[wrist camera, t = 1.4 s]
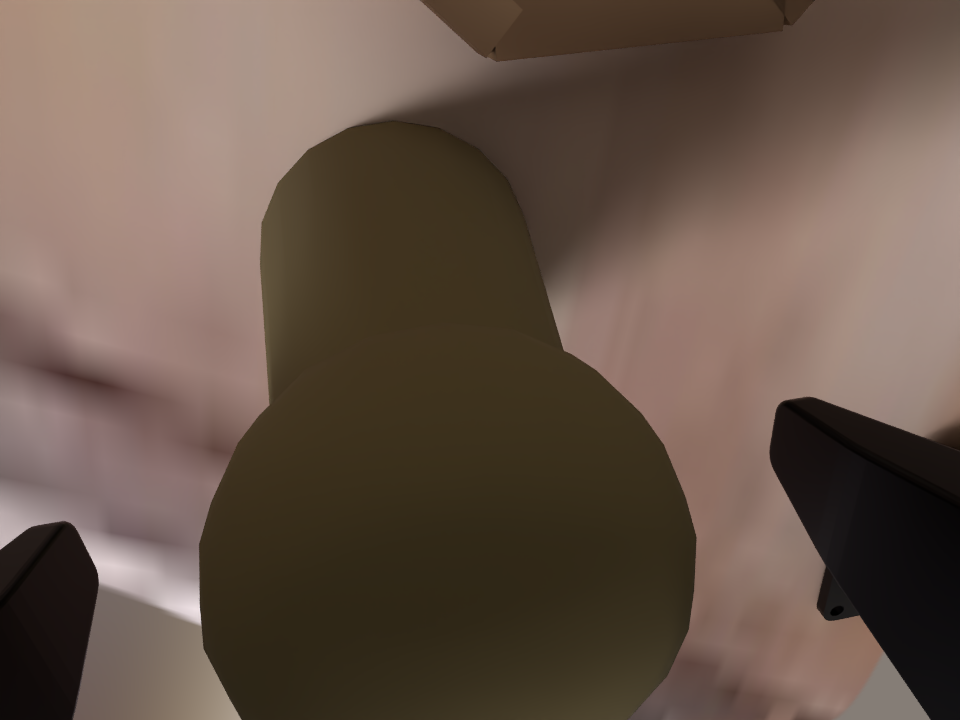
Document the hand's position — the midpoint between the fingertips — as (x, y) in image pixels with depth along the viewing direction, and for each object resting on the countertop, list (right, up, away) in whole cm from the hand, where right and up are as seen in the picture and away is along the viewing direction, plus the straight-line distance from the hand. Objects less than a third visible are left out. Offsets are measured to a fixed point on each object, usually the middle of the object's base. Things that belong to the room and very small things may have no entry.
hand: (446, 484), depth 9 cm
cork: (-1, +4, +7) cm, 8 cm away
